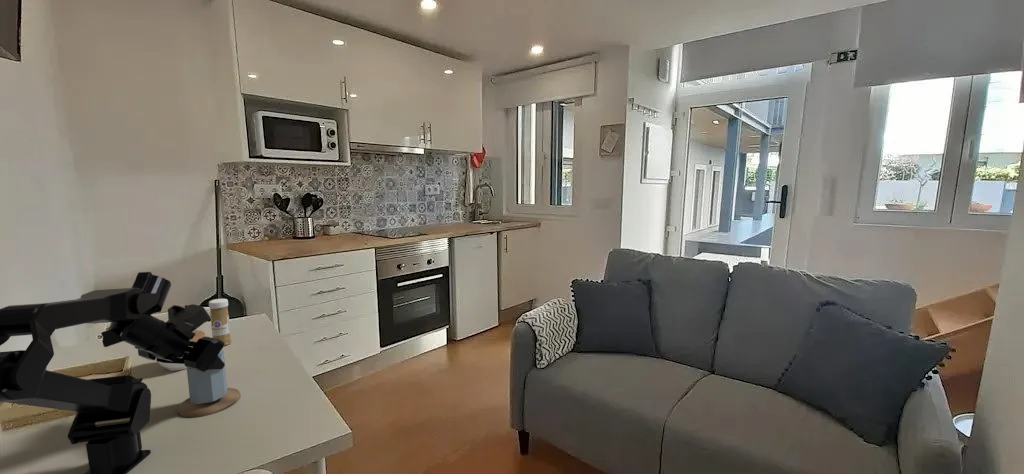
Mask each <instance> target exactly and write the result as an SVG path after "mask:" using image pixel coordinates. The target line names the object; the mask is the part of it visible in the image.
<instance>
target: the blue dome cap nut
mask: <svg viewBox="0 0 1024 474" xmlns="http://www.w3.org/2000/svg"><path fill="white" fill-rule="evenodd" d="M187 355H188V354H187ZM218 356H219V358H220V359H221V360H222V361H223V362H224V363H225V362H226V361H225V360H226V359H225V352H224V350H223V348H222V350H221V351H220V353H219V354H218ZM225 364H226V363H225ZM186 375H187V376H186V377H187V384H188V393H189V394H188V395H189V398H190V402H192V403H196V404H202V403H208V402H213V401H215V400H217V399H219V398H222V397H224V396H225V395H226V393H227V388H228V382H227V372H226V365H225V366H224V367H223V369H211V370H207V371H205V372H201V371H197V370H193V369H189V368H188V367H187V369H186Z"/></svg>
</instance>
